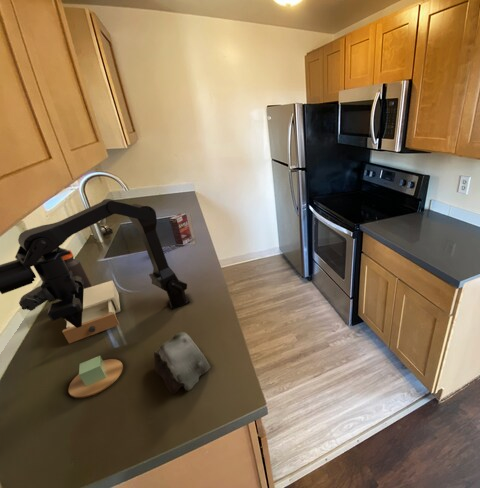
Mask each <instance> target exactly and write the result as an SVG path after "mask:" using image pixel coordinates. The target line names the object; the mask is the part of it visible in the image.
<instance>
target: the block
mask: <svg viewBox="0 0 480 488" xmlns="http://www.w3.org/2000/svg"><path fill="white" fill-rule="evenodd" d="M78 369H79V370H78V374H79V376H80V378H81V379H82V381H83V382H84V384H85V386H88V385H91V384H93V383H95V382H97V381H99V380H102V379H104V378H106V366H105V364H104V362H103V358H102V356H101V355H98V356H96V357H92V358H90V359H88V360H85V361H83V362H81V363H79V367H78Z"/></svg>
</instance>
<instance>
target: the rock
mask: <svg viewBox="0 0 480 488" xmlns="http://www.w3.org/2000/svg"><path fill="white" fill-rule="evenodd" d="M153 358H154V369H155V372H156V373H157V375H159V377H161V378H162V379H163V382H164V385H165V386H166V388H167V390H168V391H169V392H170V394H173V395H174V394H176V393H177V392H178V391H179V389H181V388H184V390H185V391H191V390H192V389H193V388H194V386H195V385H196V384H197V383H198V382H200V377H201V376H202V375H204V374H205V373H207V372H208V371H209V370H211V369H212V366H211V365H210V363H209V361H208V360H207V358H206V357H205V355H204V353H203V352H202V350H200V349H199V346H198V345H197V344H196V343H195V342H194V340H193V339H192V338H191V336H190V335H189V334H188V333H187V332H183V331H181V332H177V333H176V334H174V336H173V337H172V338H170V339H168V340H166V341H164V342H162V344H161V345H160V346H159V349H156V350H155V351H154V354H153Z"/></svg>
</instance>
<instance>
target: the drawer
mask: <svg viewBox="0 0 480 488" xmlns="http://www.w3.org/2000/svg"><path fill="white" fill-rule="evenodd" d="M116 314H117V313H115V305H114V303H113V301H112V300H109V301H106V302H103V303H100V304H97V305H94V306H91V307H88V308H85V309H83V312H82V326H81V327H79V328H76V327H75V326H74V325H72V324H71V323H70V322H68V321H67V322H66V326H65V327H66V328H63V329H62V334H63V336H64V338H65V339H66V341H67V343H68V344H72V343H75V342H78V341H80V340H83V339H86V338H88V337H90V336H93V335H96V334H98V333H99V334H100V333H101V332H104V331H106V330H110V329H112V328H114V327H117V326H120V322H119V320H118V317H117V316H116Z"/></svg>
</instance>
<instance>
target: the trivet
mask: <svg viewBox="0 0 480 488" xmlns="http://www.w3.org/2000/svg"><path fill="white" fill-rule="evenodd" d="M102 360H103V359H102ZM103 362H104V364H105V366H106V378H104V379H102V380H99V381H97V382H95V383H93V384H91V385H88V386H85V384H84V382H83V381H82V379H81V378H80V376H79V373H78V374H77V375H76V376H75V377H74V378H73V379H72V381H71V382H70V383H69V386H68V394H69V395H70V396H71V397H72V398H74V399H85V398H89V397H93V396H95V395H97V394H99V393H101V392H103V391H105V390H106V389H107V388H109V387H110V386H111V385H113V384H114V383H115V382H116V381H117V380H118V379H119V378H120V376H121V374H122V373H123V370H124V366H123V365H124V364H123V362H121V360H118V359H115V358H109V359H104V360H103Z"/></svg>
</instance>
